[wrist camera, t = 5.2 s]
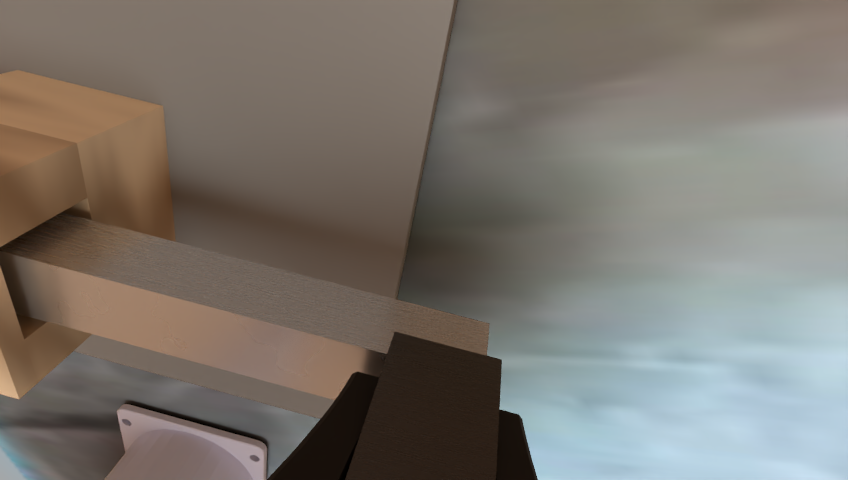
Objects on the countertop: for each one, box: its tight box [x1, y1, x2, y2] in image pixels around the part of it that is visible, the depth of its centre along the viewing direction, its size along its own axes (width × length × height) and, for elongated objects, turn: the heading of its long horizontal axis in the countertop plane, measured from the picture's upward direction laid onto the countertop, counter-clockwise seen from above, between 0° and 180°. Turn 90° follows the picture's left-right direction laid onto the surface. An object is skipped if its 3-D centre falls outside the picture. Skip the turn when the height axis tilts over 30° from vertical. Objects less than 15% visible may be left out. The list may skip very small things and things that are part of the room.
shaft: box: [0, 212, 502, 480], centre depth 11 cm, size 3×15×6 cm, turn 79°
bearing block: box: [0, 70, 176, 399], centre depth 15 cm, size 6×5×7 cm
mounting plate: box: [0, 0, 458, 419], centre depth 18 cm, size 20×18×1 cm
